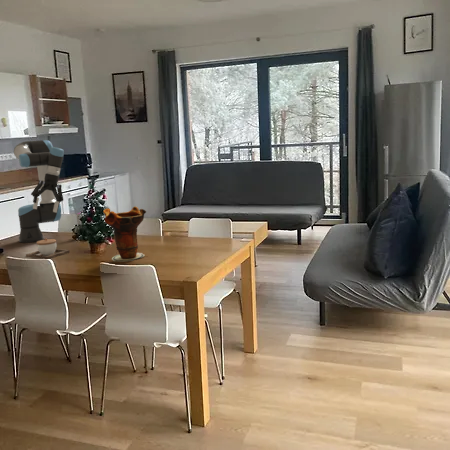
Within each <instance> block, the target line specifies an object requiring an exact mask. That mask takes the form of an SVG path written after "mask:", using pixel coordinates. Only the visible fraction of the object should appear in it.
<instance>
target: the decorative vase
mask: <svg viewBox="0 0 450 450" xmlns="http://www.w3.org/2000/svg"><path fill="white" fill-rule="evenodd" d="M146 213H147V211H146V210H145V209H143V208H140V209H139V207H138V206H133V207H132V208H131V210H129V211H123V212H122V211H121V212H115V211H112V210H111V209H110V208H104V210H103V214H104V216H105V217H104V224H107V225H108V226H109V227H111V228H112V229H113V235H114V241H115V245H116V255H114V256H113V257H112V258H111V260H112V261H113V262H131V261H135V260H137V259H141V258H143V257H145V253H144V254H143V252H138V250H139V244H138V237H137V236H138V234H137V233H138V228H139V226H140V224H141V223H142V222H143V221H144V218H145V214H146ZM117 252H118V254H117Z"/></svg>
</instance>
